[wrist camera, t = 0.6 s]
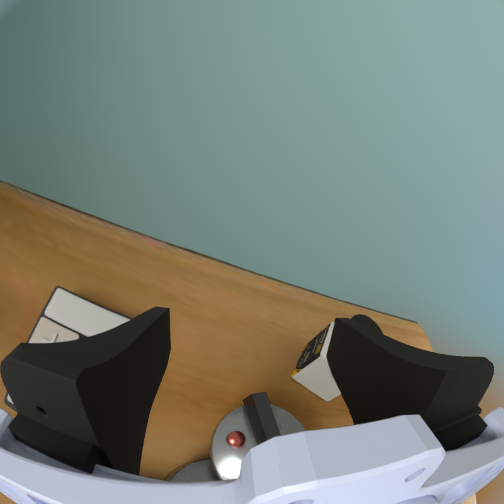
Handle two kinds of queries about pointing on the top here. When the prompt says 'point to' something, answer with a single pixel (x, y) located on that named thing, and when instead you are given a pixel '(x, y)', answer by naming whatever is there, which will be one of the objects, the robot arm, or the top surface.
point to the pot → (193, 472)
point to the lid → (247, 433)
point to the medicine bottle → (322, 362)
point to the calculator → (70, 321)
